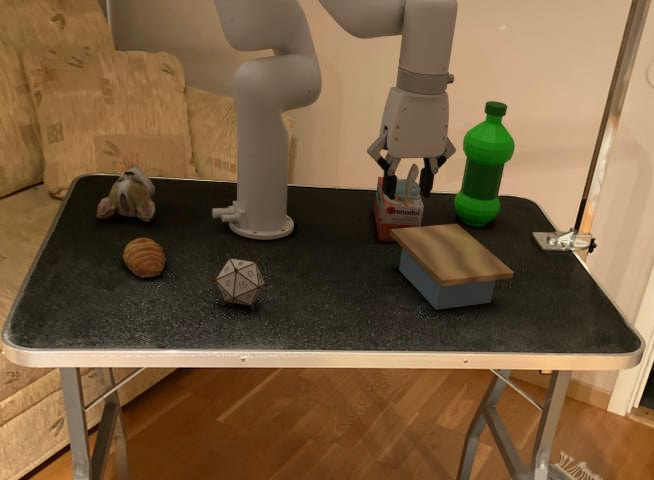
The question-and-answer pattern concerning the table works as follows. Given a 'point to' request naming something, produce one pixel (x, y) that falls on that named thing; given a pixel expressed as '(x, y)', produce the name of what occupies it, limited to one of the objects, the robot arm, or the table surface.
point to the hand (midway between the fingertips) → (406, 194)
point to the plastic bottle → (484, 167)
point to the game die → (240, 281)
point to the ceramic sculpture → (130, 197)
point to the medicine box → (395, 214)
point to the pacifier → (407, 188)
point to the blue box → (444, 287)
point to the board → (450, 254)
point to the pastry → (144, 257)
